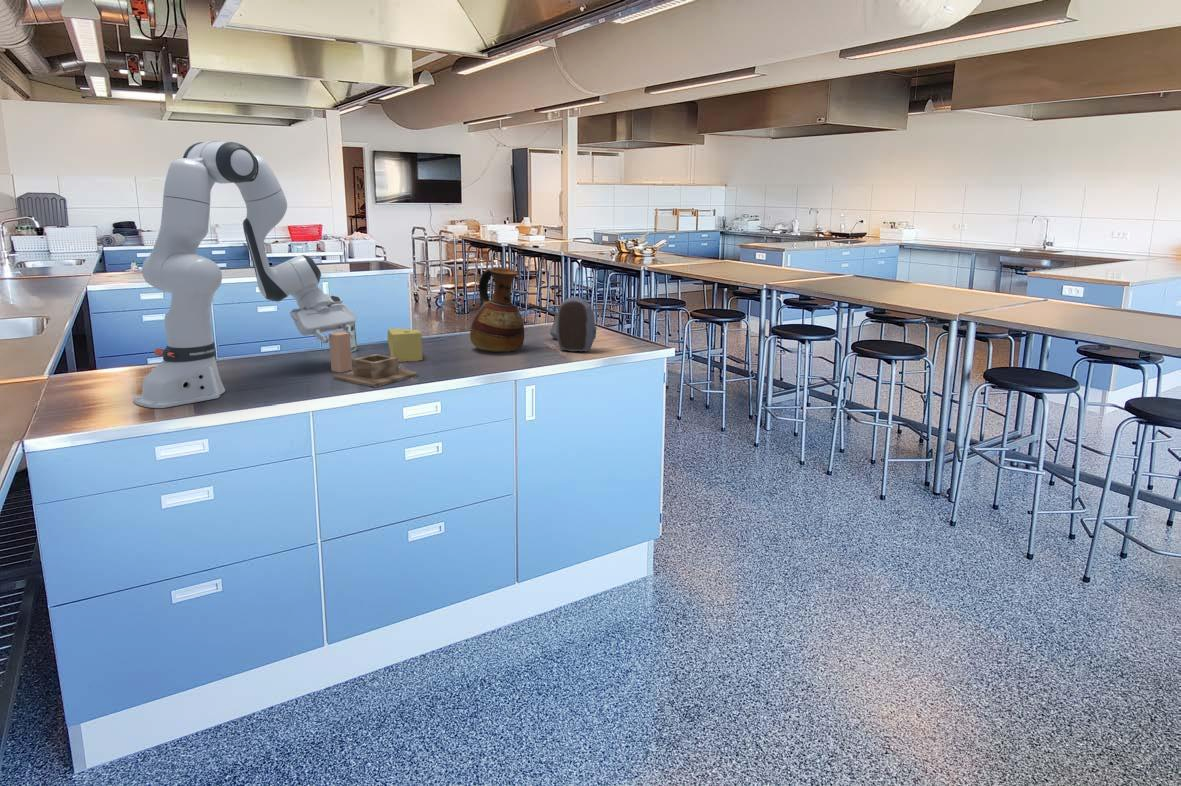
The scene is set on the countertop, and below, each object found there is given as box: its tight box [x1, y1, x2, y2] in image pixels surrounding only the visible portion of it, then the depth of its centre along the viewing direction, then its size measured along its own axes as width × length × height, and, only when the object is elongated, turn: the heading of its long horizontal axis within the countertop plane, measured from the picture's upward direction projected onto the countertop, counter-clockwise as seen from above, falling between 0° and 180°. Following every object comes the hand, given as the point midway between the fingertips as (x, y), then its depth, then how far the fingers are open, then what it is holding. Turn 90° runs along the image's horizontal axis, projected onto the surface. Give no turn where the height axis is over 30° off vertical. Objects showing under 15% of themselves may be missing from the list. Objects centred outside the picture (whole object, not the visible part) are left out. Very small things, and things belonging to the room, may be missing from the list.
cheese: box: [387, 327, 423, 363], centre depth 253 cm, size 10×11×10 cm
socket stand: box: [332, 353, 419, 388], centre depth 228 cm, size 18×18×6 cm
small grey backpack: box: [556, 296, 597, 353], centre depth 269 cm, size 15×8×20 cm, turn 72°
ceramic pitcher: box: [469, 267, 525, 353], centre depth 267 cm, size 20×20×30 cm
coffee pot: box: [526, 302, 560, 340], centre depth 289 cm, size 21×12×15 cm, turn 115°
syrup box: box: [332, 310, 358, 353], centre depth 262 cm, size 6×6×14 cm
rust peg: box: [328, 332, 353, 374], centre depth 235 cm, size 4×4×12 cm
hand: (338, 339), depth 234 cm, fingers open, 8 cm apart
